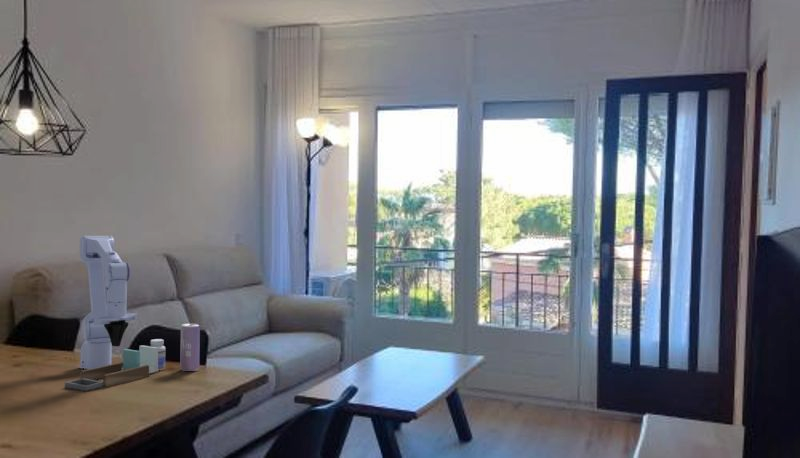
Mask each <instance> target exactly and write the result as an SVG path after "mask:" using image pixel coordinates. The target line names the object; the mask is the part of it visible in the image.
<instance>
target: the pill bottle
mask: <svg viewBox="0 0 800 458" xmlns="http://www.w3.org/2000/svg"><path fill="white" fill-rule="evenodd" d="M164 342H165V341H164V339H162V338H155V339H150V345H149V346H150V347H157V348H158V371H157V372H159V370H160V371H163V370H165V368H166V346H165V345H164V344H165V343H164Z"/></svg>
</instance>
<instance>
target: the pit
mask: <svg viewBox="0 0 800 458" xmlns="http://www.w3.org/2000/svg"><path fill="white" fill-rule="evenodd" d="M64 388H65V389H71V390H75V391H81V392H84V393H85V392H90V391H95V390H98V389H103V388H105V387H104V382H103V381H100V380H90V379H85V378H82V379H81V378H77V379H74V380H73V379H72V380H70V381H65V382H64Z"/></svg>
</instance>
